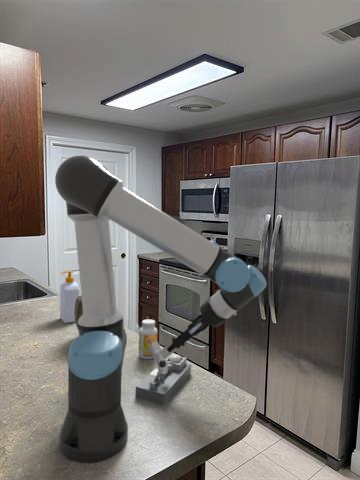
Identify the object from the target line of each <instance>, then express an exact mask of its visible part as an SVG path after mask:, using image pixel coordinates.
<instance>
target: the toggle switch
mask: <svg viewBox="0 0 360 480" xmlns="http://www.w3.org/2000/svg"><path fill="white" fill-rule="evenodd" d="M159 365H160V367H159V370H158V372H157V375H156V377H155V380H154V383H155V385H156V384H157V383H158V378H159V376H160V373H161V371H162V369H163V367H165V366H166V361H165V360H161V361H160V362H159Z"/></svg>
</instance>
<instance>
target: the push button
mask: <svg viewBox="0 0 360 480" xmlns="http://www.w3.org/2000/svg"><path fill="white" fill-rule="evenodd" d="M181 357H182V355H180V354H176V353H172V354H171V355H170V356H169V362H174V363H179V362H180V359H181Z"/></svg>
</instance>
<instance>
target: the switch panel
mask: <svg viewBox="0 0 360 480" xmlns="http://www.w3.org/2000/svg"><path fill="white" fill-rule="evenodd" d="M169 356H170V355H169ZM169 356H168V357H167V358H166V362H167V364H168V366H169V367H170V371H169V372H168V373H167V374H166V375H165V372H161V373H160V376H159V378H158V383H157V384H156V385H155V383H154V380H155V377H156V375H157V372H158V370H159V368H158V366H157V367H155V368H154V369H153V370H152V371H150V373H149V374H148V375H147V376H146V377H145V378H144V379H142V380H141V381H140V382H139V383H138V384H137V385H136V386H135V398H139V399H141V400H146V401H149V402H152V403H156V404H160V405H164V406H165V405H166V404H167V402H169V400H170V399H171V398H172V396H174V394H175V393H176V392H177V390H178V389H180V387H181V385H183V383H184V382H185V381H186V380H187V379H188V377H189V376H190V375H191V373H192V371H191V370H192V364H190V363H187V358H188V357H185V356H184V357H183V356H181V359H180V362H179V363H174V362H169Z"/></svg>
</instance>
